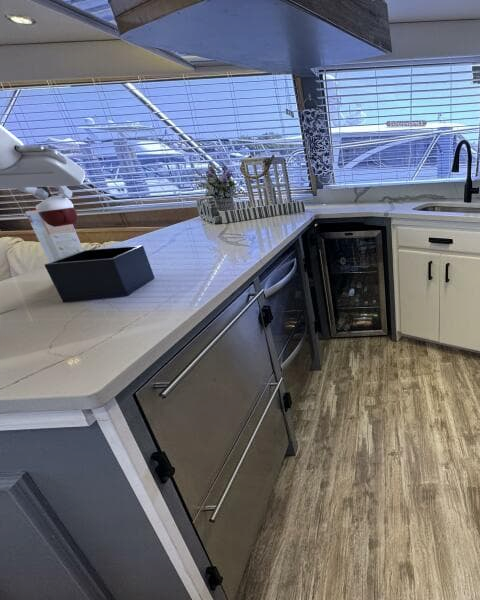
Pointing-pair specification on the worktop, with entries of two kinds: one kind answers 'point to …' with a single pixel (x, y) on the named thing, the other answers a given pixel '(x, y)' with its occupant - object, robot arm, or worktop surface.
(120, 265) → the black open box
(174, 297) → the worktop surface
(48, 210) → the red white rounded piece
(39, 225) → the cracker box
